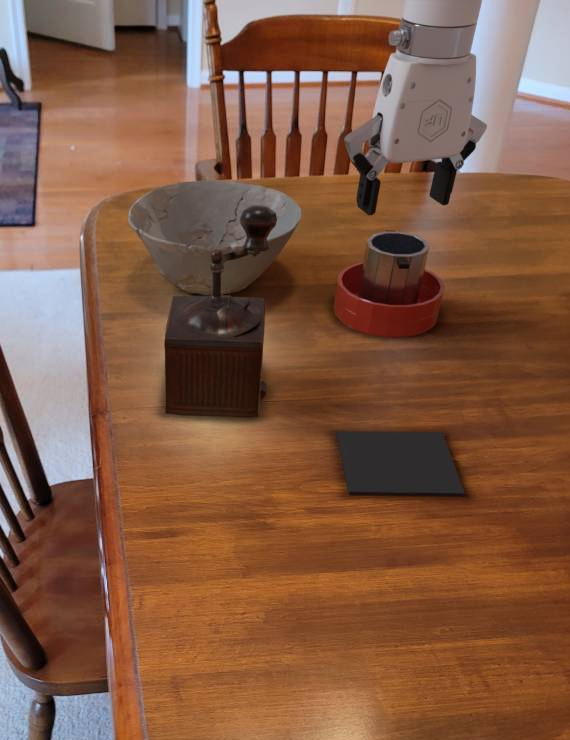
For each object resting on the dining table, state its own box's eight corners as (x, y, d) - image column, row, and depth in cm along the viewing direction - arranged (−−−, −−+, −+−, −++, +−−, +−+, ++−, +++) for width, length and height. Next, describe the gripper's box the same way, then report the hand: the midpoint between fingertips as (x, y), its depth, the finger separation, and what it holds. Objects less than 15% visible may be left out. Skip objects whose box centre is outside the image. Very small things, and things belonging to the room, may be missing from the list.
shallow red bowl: (425, 292, 112) (432, 260, 109) (446, 341, 102) (454, 307, 99) (328, 292, 112) (332, 259, 109) (340, 340, 103) (345, 306, 100)
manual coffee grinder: (265, 422, 90) (279, 261, 78) (163, 417, 91) (161, 257, 78) (266, 349, 101) (279, 199, 89) (175, 345, 102) (175, 196, 90)
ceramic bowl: (298, 253, 121) (306, 182, 115) (287, 329, 105) (295, 252, 98) (149, 243, 124) (147, 174, 118) (115, 316, 108) (111, 240, 101)
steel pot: (406, 294, 110) (419, 227, 104) (420, 331, 103) (436, 261, 97) (351, 293, 111) (362, 226, 105) (362, 330, 103) (374, 260, 97)
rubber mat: (441, 438, 87) (442, 432, 87) (463, 499, 80) (465, 493, 79) (335, 437, 88) (336, 431, 87) (348, 498, 80) (349, 491, 80)
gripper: (378, 55, 82) (351, 227, 93) (528, 42, 86) (484, 209, 97) (343, 37, 87) (321, 203, 99) (485, 26, 91) (448, 186, 103)
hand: (402, 205), depth 98 cm, fingers open, 9 cm apart
